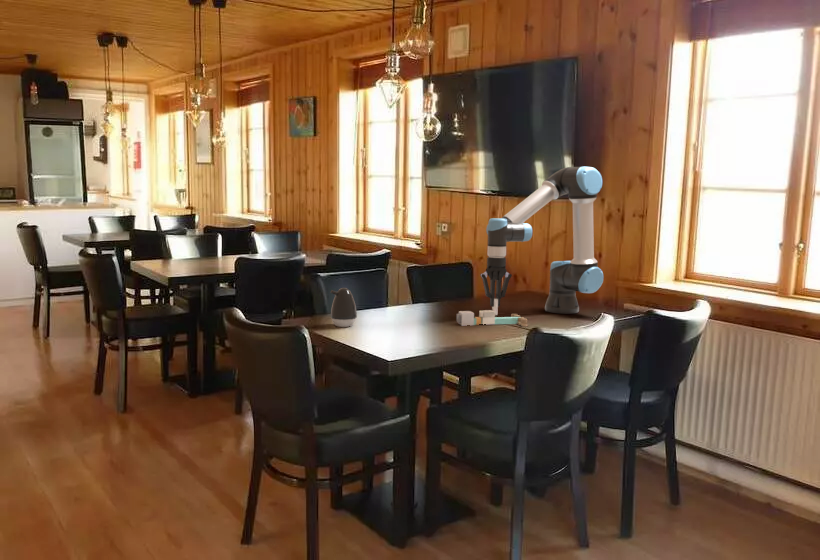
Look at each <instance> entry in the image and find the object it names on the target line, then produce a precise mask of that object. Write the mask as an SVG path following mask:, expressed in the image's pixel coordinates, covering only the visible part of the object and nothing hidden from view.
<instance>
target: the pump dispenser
mask: <svg viewBox="0 0 820 560" xmlns="http://www.w3.org/2000/svg"><path fill="white" fill-rule="evenodd" d="M330 294H333V295H334V298H333V301H332V304H331V309H330V319H331V322H332V323H333V325H334V326H336V327H338V328H349V326H350V327H351V326H353V325H354V324H355V322H356V320H357V317H358V314H357V306H356V303H355V302H356V301H355V299H354V297H353V294H352V292H351V290H349V289H348V288H347V287H342V288H341V287H340V288H339V289H338V291H335V290H331V291H330Z"/></svg>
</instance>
